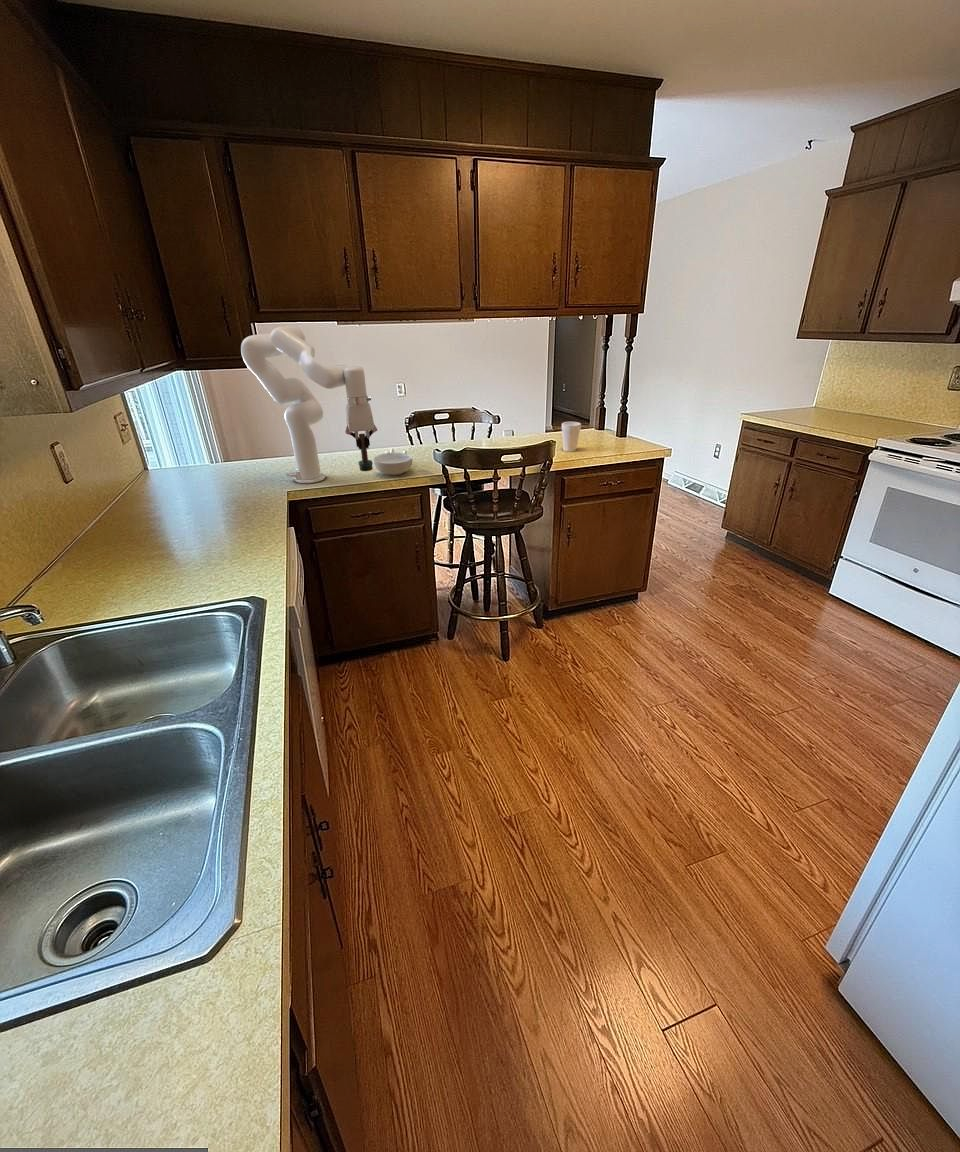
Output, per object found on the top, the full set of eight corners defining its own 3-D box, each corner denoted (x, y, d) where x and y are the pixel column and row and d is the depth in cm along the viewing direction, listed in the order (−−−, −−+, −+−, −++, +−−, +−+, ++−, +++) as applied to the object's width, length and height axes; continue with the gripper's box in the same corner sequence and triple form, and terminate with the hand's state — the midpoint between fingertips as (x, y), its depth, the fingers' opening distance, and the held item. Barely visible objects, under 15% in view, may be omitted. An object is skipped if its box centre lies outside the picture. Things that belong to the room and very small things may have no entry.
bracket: (404, 467, 241) (406, 451, 238) (389, 465, 238) (391, 449, 235) (398, 460, 252) (401, 445, 249) (384, 458, 249) (386, 442, 246)
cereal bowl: (374, 479, 223) (373, 463, 219) (375, 468, 237) (373, 453, 234) (414, 477, 225) (413, 461, 222) (412, 466, 239) (411, 451, 236)
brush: (360, 472, 210) (355, 436, 203) (358, 468, 214) (353, 433, 207) (374, 470, 211) (369, 435, 204) (371, 466, 216) (367, 432, 209)
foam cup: (558, 447, 266) (559, 421, 259) (575, 447, 267) (577, 421, 260) (562, 452, 257) (564, 426, 251) (581, 451, 258) (583, 425, 252)
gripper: (376, 397, 205) (381, 444, 214) (335, 400, 201) (342, 448, 209) (380, 400, 199) (385, 448, 208) (337, 404, 194) (344, 452, 203)
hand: (363, 447), depth 209 cm, fingers closed on brush, 2 cm apart
